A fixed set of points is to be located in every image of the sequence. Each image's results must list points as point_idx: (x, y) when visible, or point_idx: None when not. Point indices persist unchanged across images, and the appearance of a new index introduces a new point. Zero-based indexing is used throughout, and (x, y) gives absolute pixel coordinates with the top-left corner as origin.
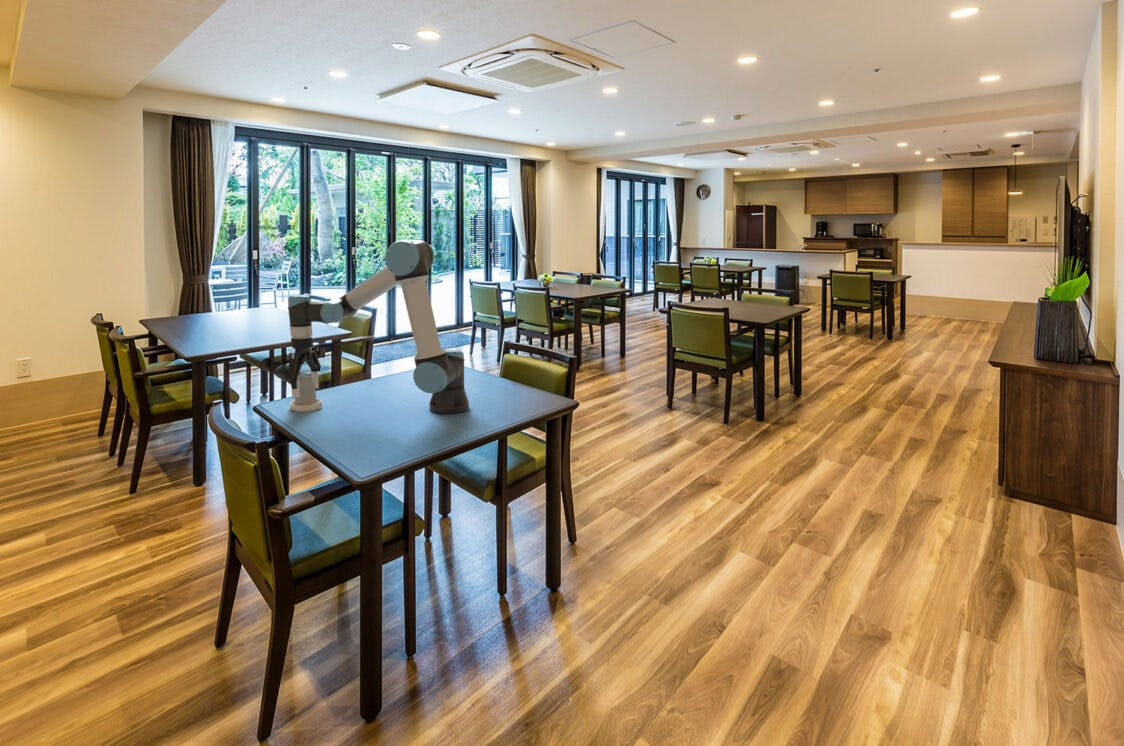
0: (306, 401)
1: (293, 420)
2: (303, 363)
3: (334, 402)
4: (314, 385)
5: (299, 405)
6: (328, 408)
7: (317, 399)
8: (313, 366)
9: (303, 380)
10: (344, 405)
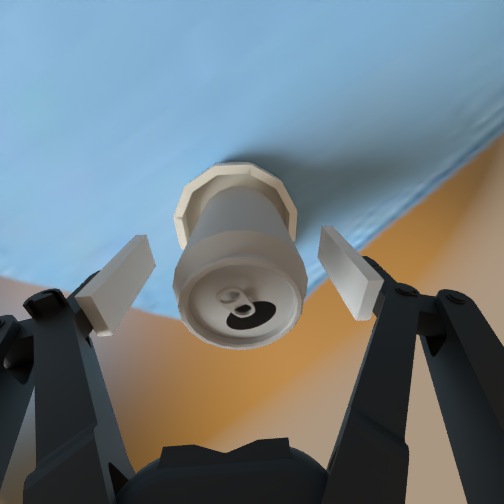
0: (276, 209)
1: (398, 175)
2: (353, 417)
3: (125, 152)
4: (229, 214)
5: (294, 223)
6: (219, 124)
7: (186, 207)
8: (83, 350)
9: (298, 271)
10: (144, 63)
